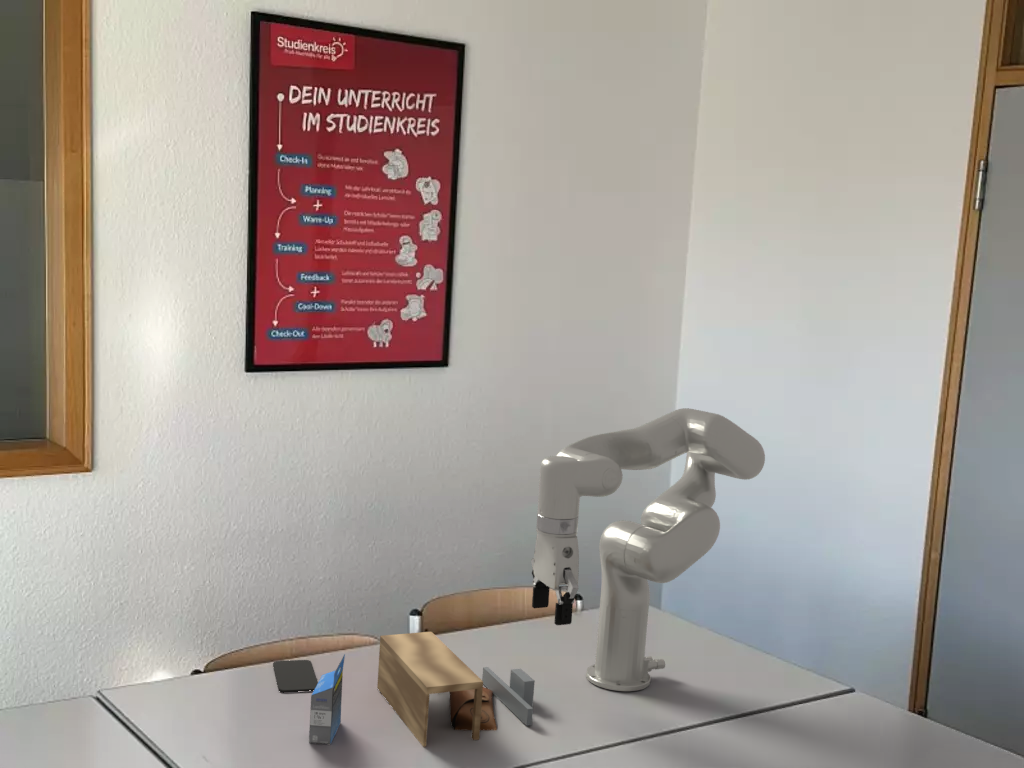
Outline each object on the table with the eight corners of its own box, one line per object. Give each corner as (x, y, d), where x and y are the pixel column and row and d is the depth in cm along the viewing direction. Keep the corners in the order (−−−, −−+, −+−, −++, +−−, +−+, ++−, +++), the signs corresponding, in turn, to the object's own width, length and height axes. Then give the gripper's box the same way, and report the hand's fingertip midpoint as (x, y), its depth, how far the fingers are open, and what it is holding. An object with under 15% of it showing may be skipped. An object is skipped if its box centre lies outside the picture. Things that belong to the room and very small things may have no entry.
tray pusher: (503, 680, 214) (505, 655, 213) (549, 722, 196) (551, 695, 195) (482, 682, 212) (483, 657, 212) (526, 725, 194) (528, 698, 193)
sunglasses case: (500, 730, 191) (482, 698, 191) (463, 749, 191) (446, 717, 190) (493, 690, 209) (477, 660, 208) (460, 707, 209) (443, 677, 208)
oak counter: (427, 683, 210) (431, 631, 209) (479, 739, 188) (483, 681, 186) (377, 688, 206) (380, 635, 205) (423, 746, 183) (427, 687, 182)
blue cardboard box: (318, 720, 191) (322, 651, 189) (341, 722, 191) (345, 653, 189) (307, 743, 182) (311, 670, 180) (331, 745, 182) (335, 672, 180)
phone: (310, 659, 217) (320, 688, 203) (310, 663, 217) (320, 693, 203) (272, 660, 215) (279, 690, 201) (271, 665, 215) (278, 695, 201)
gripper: (598, 535, 197) (591, 629, 199) (554, 512, 212) (548, 599, 214) (560, 538, 193) (553, 633, 196) (518, 513, 209) (513, 602, 211)
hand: (551, 615), depth 205 cm, fingers open, 9 cm apart
